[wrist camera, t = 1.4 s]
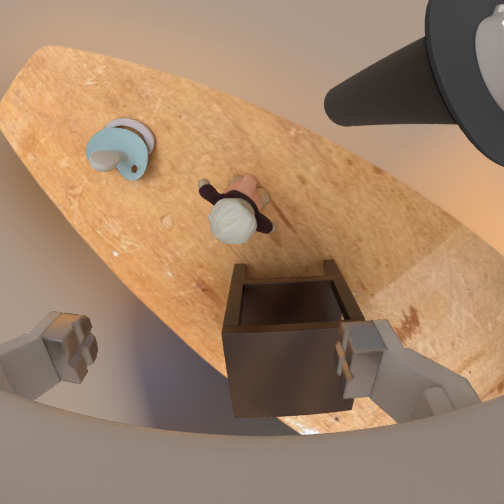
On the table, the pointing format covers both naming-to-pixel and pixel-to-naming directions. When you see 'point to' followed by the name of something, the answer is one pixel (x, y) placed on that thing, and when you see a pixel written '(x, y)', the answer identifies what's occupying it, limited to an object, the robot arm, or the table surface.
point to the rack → (286, 343)
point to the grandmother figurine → (237, 209)
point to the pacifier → (121, 148)
